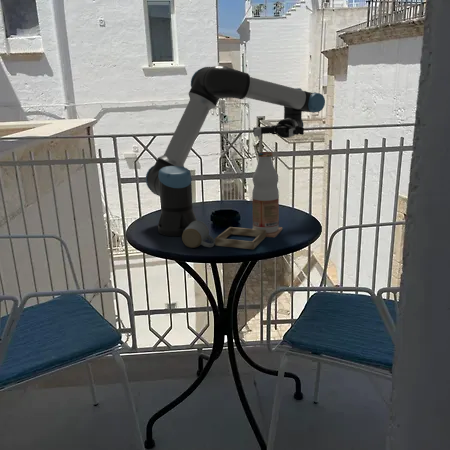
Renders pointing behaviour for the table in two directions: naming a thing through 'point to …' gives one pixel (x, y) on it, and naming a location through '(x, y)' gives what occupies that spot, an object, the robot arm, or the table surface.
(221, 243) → the birch collar
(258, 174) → the fruit juice
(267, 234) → the terracotta tile
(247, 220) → the table surface
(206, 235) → the ceramic mug
